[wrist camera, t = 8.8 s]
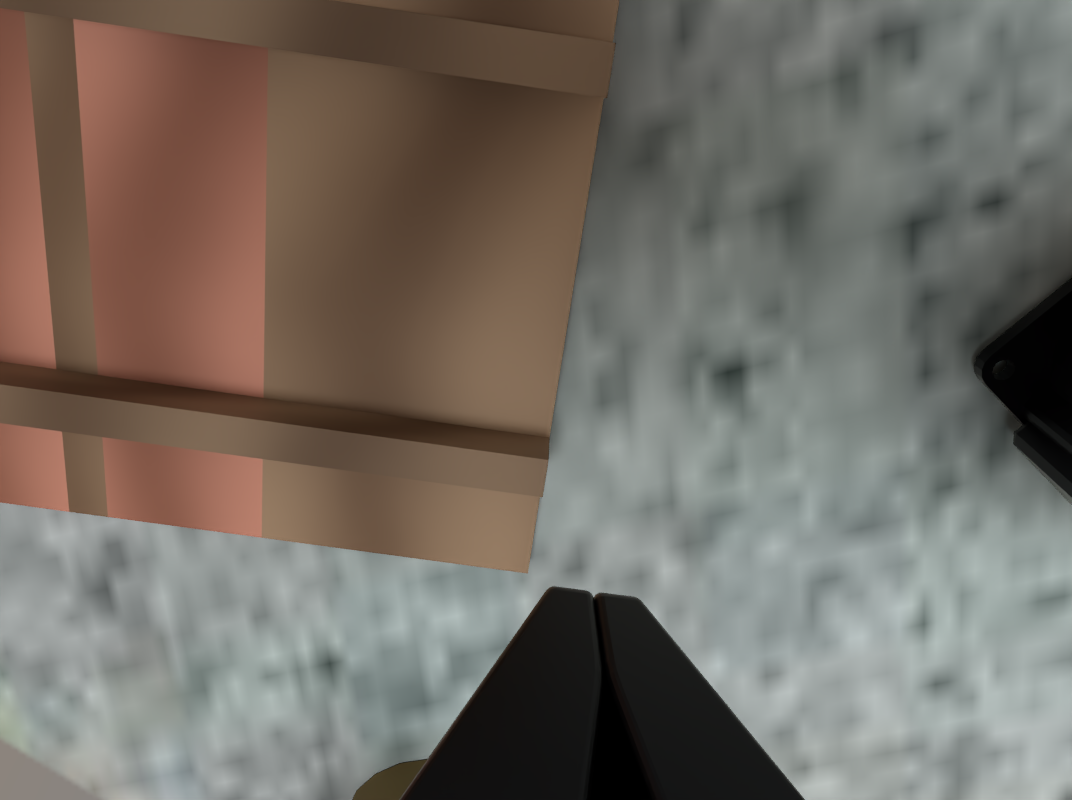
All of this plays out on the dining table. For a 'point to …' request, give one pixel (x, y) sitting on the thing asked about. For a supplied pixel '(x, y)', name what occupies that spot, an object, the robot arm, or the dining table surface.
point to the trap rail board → (294, 262)
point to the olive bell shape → (389, 782)
